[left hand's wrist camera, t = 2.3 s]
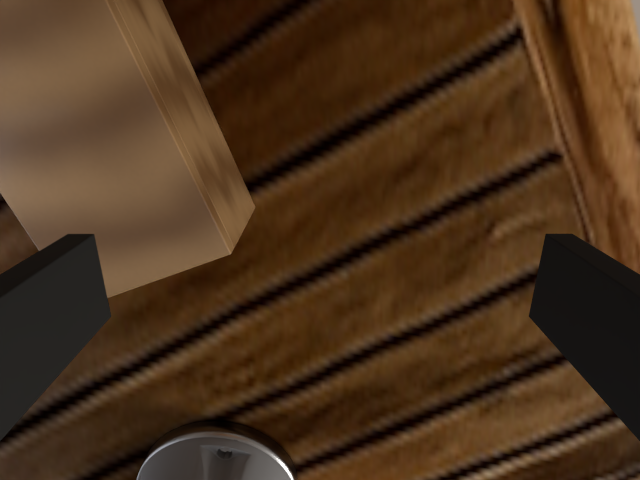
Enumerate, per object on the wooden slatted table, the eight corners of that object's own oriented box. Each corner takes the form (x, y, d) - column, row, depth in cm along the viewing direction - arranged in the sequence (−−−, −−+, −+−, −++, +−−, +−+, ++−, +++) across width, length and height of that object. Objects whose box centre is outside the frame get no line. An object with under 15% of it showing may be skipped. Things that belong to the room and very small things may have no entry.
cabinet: (-3, 1, 26) (-154, -35, 18) (133, -65, 25) (39, -136, 17) (140, 250, 33) (77, 309, 24) (255, 207, 31) (231, 254, 23)
